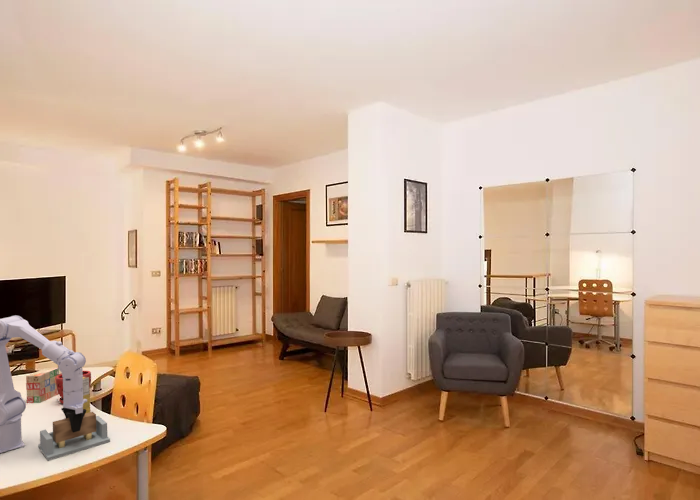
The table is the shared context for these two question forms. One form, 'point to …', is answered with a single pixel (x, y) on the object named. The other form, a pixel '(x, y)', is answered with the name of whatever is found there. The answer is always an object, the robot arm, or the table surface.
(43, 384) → the stack of blocks
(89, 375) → the plant pot
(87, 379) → the candy box
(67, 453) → the peg stand
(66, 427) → the board
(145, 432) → the table surface
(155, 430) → the table surface
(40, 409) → the table surface
